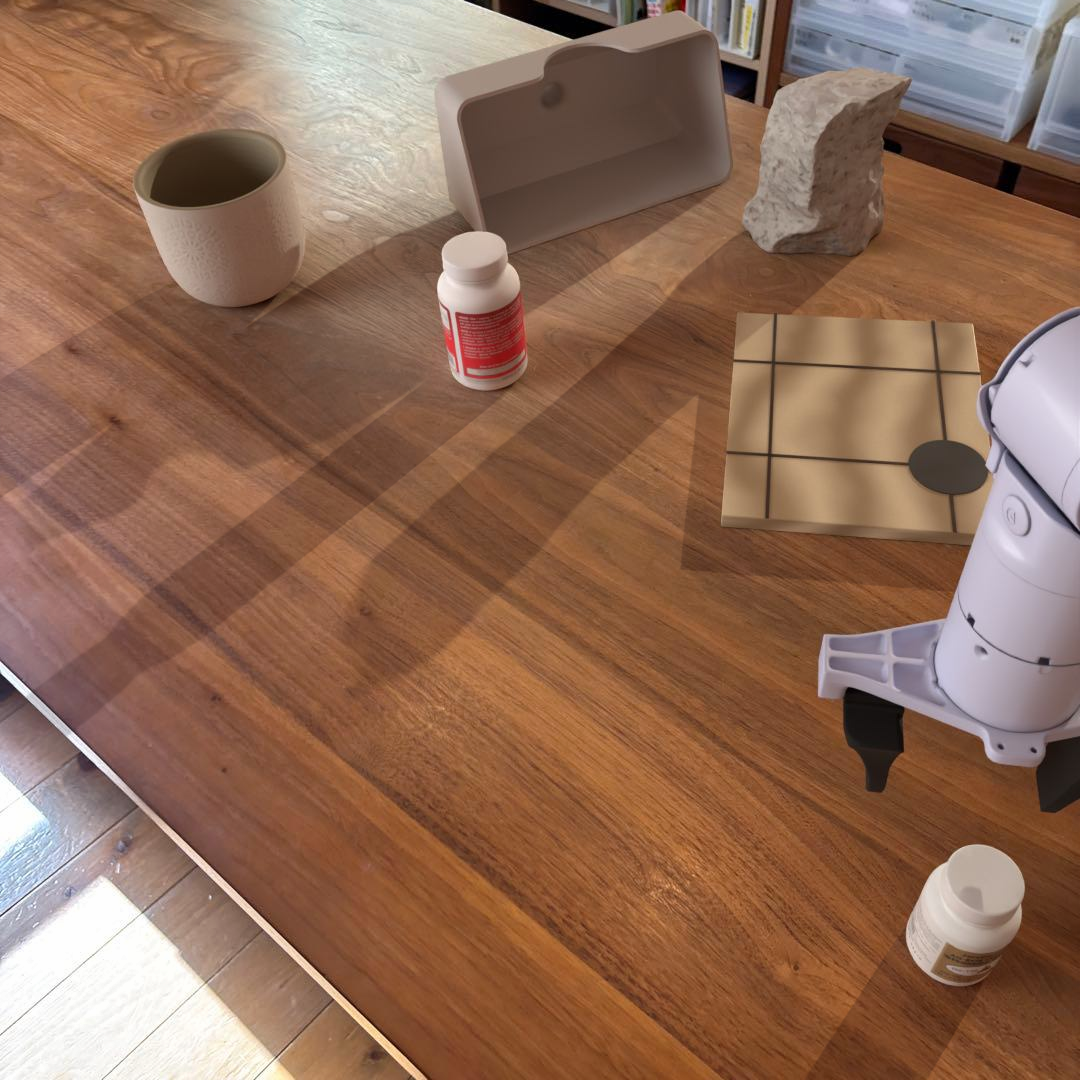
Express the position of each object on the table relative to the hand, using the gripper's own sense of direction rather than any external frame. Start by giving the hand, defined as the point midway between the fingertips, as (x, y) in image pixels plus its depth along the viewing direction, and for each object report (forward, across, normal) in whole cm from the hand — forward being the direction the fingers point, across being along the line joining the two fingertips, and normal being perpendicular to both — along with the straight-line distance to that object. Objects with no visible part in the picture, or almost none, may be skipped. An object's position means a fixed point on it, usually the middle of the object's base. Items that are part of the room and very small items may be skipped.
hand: (958, 783), depth 52 cm
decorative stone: (+10, -6, +58) cm, 59 cm away
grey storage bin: (+10, -28, +66) cm, 72 cm away
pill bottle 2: (+10, +1, -4) cm, 10 cm away
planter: (+10, -55, +48) cm, 74 cm away
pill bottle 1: (+10, -31, +38) cm, 50 cm away
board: (+9, -3, +34) cm, 35 cm away
